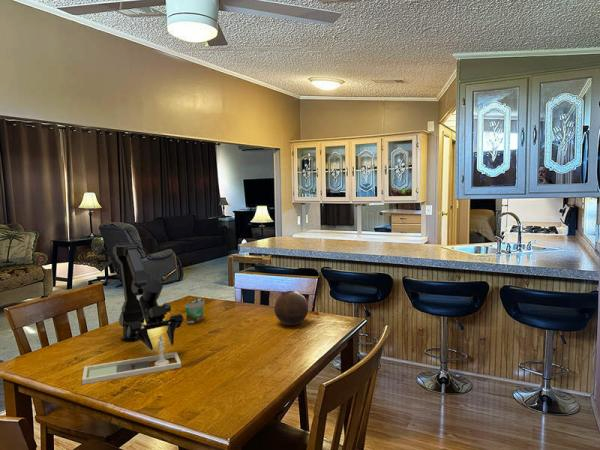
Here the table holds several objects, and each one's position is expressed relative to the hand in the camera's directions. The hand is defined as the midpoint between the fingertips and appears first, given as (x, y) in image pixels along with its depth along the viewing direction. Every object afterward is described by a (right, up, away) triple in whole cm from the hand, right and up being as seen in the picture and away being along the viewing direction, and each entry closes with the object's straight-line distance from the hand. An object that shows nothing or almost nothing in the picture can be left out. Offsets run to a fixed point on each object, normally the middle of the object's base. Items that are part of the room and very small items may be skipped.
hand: (162, 347), depth 146 cm
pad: (-18, -7, -6) cm, 20 cm away
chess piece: (-1, -7, +2) cm, 7 cm away
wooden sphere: (+43, -3, +44) cm, 62 cm away
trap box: (-9, -7, -2) cm, 12 cm away
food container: (0, -3, +49) cm, 50 cm away
